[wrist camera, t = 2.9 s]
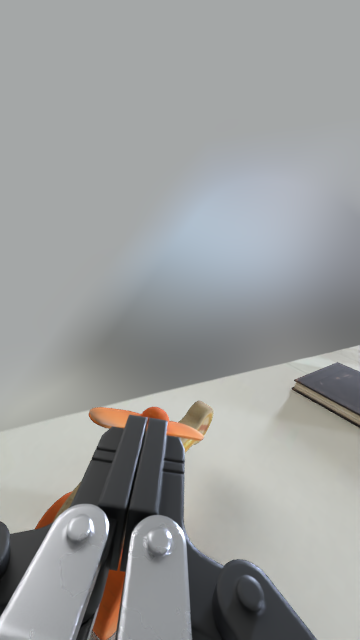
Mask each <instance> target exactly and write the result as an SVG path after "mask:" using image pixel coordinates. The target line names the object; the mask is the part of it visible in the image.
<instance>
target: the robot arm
mask: <svg viewBox="0 0 360 640" xmlns="http://www.w3.org/2000/svg"><path fill="white" fill-rule="evenodd" d="M147 421H148V417H142V416H136V415H130V414H129V416H128V419H127V422H126V425H125V427H124V428H119V427H113V426H112V427H111V428H110V429H109V430H108V431H107V432H105V433H104V434H103V435H102V437H101V439H100V441H99V444H98V446H97V449H96V450H95V452H94V455H93V457H92V460H91V461H90V464H89V466H88V468H87V470H86V472H85V475H84V477H83V479H82V481H81V484H80V486H79V488H78V490H77V492H76V495H75V497H74V499H73V501H72V503H71V505H70V507H69V508H68V509H67V510H65V511H64V512H63V513H62V514H60V515H59V516H58V518H57V519H56V520H55V521H54V522H53V523H51V524H49V525H47V526H44V527H42V528H38V529H34V530H29V531H24V532H19V533H13V534H10V533H9V530H8V528H7V526H6V525H5V524H4V523H2V522H0V640H89V639H90V636H91V633H92V629H93V626H94V623H95V619H96V616H97V613H98V609H99V605H100V602H101V600H102V597H103V593H104V589H105V585H106V581H107V577H108V573H109V570H115V571H117V569H118V565H119V560H120V556H121V551H122V547H123V552H122V558H121V565H120V571H123V572H125V577H124V583H123V590H122V596H121V602H120V609H119V615H118V623H117V630H116V638H115V640H317V639H316V638H315V636H314V635H313V634H312V633H311V631H310V630H309V629H308V627H307V626H306V625H305V624H304V622H303V621H302V620H301V619H300V617H299V616H298V615H297V613H296V612H295V611H294V610H293V608H292V607H291V606H290V605H289V603H288V602H287V601H286V599H285V598H284V597H283V596H282V594H281V593H280V592H279V590H278V589H277V588H276V587H275V585H274V584H273V583H272V582H271V580H270V579H269V578H268V576H267V575H266V574H265V573H264V572H263V571H262V570H261V569H260V568H259V567H257V566H256V565H254V564H253V563H251V562H249V561H246V560H240V559H237V560H232V561H230V562H228V563H227V564H225V566H223V565H221V564H219V563H218V562H216V561H214V560H212V559H211V558H209V557H207V556H205V555H204V554H202V553H201V552H200V551H199V550H198V549H196V547H195V546H194V545H193V544H192V543H191V541H190V540H189V538H188V536H187V534H186V531H185V527H184V519H183V517H184V465H185V464H184V462H185V448H184V446H183V444H182V442H181V439H180V437H175V436H169V435H166V433H167V425H168V421H167V420H161V419H155V418H149V422H148V426H147ZM146 428H147V431H146ZM145 434H146V435H145ZM124 537H125V538H124ZM123 542H124V545H123Z"/></svg>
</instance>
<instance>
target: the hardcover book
mask: <svg viewBox="0 0 360 640" xmlns="http://www.w3.org/2000/svg"><path fill="white" fill-rule="evenodd" d="M294 381H295V382H297V383H296V384H295V386H294V387H292V389H293V390H295V391H296V392H298V393H300V394H302V395H303V396H305V397H307V398H309V399H311V400H312V401H314V402H316V403H318V404H319V405H321V406H323V407H325V408H326V409H328V410H330V411H332V412H333V413H335V414H337V415H339V416H340V417H342V418H344V419H346V420H348V421H349V422H351V423H353V424H355V425H356V426H358V427H360V372H359V371H357V370H354V369H352V368H350V367H347V366H345V365H343V364H340V363H338V362H337V363H335V364H332V365H330V366H327V367H325V368H322V369H320V370H317V371H315V372H313V373H310V374H308V375H305V376H303V377H300V378H298V379H295V380H294Z"/></svg>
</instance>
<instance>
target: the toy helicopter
mask: <svg viewBox="0 0 360 640" xmlns="http://www.w3.org/2000/svg"><path fill="white" fill-rule="evenodd" d="M129 414H130V415H136V416H142V417H148V421H147V426H148V422H149V418H155V419H161V420H167V421H168V425H167V433H166V435H169V436H175V437H180V439H181V442H182V444H183V446H184V448H185V453H186V452H187V451H188V449H189V448H190V447H191V446H192V445H195V444H197V443H199V442H200V441H201V440H203V438H204V435H205V433H206V432H207V430H208V428H209V426H210V423H211V421H212V418H213V409H212V408H211V407H210V406H209V405H207V404H205V403H204V402H202V401H197V402H195V403H194V404H193V405H192V406H191V408H190V409H189V410H188V412H187V414H186V415H185V416H184V418H183V419H182V420H180V421H179V422H178V423H177V422H173V421H169V417H168V415H167V414H166V412H165V411H164V410H162V409H160V408H158V407H150V408H148V409H146V410H145V411H144V412H143V413H142V414H139V413H135V412H132V411H126V410H120V409H113V408H103V407H97V408H93V409H91V410H90V412H89V417H90V419H91V420H92V421H93V422H94V423H96V424H97V425H100V426H102V427H105V428H109V429H110V428H111V427H112V426H113V427H119V428H124V427H125V425H126V422H127V419H128V416H129ZM146 431H147V428H146ZM145 435H146V434H145ZM80 484H81V482H80V483H79V485H78V486H77V487H76V488H75V489H74V490H73V491H72V492H69V493H67V494H65V495H64V496H63V497H61V498H60V499H59V500H57V501H56V502H55V503H54V504H53V505H52V506H51V507H50V508H49V509H48V510H47V512H46V513H45V514H44V515H43V517H42V518H41V520H40V521H39V523H38V524H37V526H36V528H35V529H38V528H42V527H44V526H47V525H49V524H51V523H53V522H54V521H55V520H56V519H57V518H58V516H59V515H60V514H62V513H63V512H64V511H65V510H67V509H68V508H69V507H70V505H71V503H72V501H73V499H74V497H75V495H76V492H77V490H78V488H79V486H80ZM124 538H125V537H124ZM123 545H124V542H123ZM122 552H123V547H122V551H121V556H120V560H119V565H118V569H117V571H115V570H109V573H108V577H107V581H106V585H105V589H104V593H103V597H102V600H101V602H100V605H99V609H98V613H97V616H96V619H95V623H94V626H93V629H92V630H93V631H94V633H95V634H96V635H97V637H98V638H99V639H100V640H106V639H108V638H110V637H111V636H112V635H113V634H114V633H115V631H116V630H117V623H118V615H119V609H120V602H121V596H122V590H123V583H124V577H125V572H123V571H120V565H121V558H122Z"/></svg>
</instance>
